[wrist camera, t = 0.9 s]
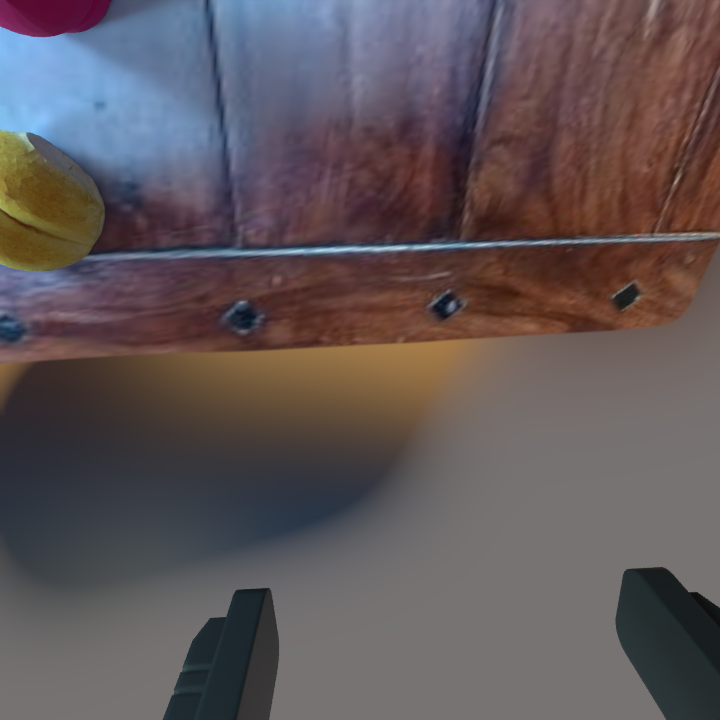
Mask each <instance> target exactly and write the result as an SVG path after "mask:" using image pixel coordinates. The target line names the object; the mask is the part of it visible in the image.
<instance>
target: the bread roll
mask: <svg viewBox="0 0 720 720" xmlns="http://www.w3.org/2000/svg"><path fill="white" fill-rule="evenodd" d="M104 220H105V206H104V202H103V199H102V196H101V194H100V192H99V190H98V188H97V186H96V184H95V182H94V180H93V179H92V178H91V177H90V176H89V175H88V174H87V173H86V172H85V171H84V170H83V169H81V168H80V167H79V166H78V164H77V163H76V162H75V161H73V160H72V159H71V158H70V157H69V156H67V155H66V154H65V153H63V152H62V151H61V150H59V149H58V148H56V147H55V146H54V145H52V144H51V143H50V142H48V141H46V140H45V139H43V138H42V137H40V136H38V135H35V134H33V133H23V132H11V131H4V130H0V264H2V265H5V266H7V267H10V268H14V269H19V270H24V271H51V270H56V269H60V268H63V267H67V266H70V265H73V264H75V263H77V262H78V261H80V260H82V259H83V258H84V257H85V256H87V255H88V253H89V252H90V251H91V249H92V247H93V245H94V244H95V242H96V241H97V239H98V238H99V237H100V235H101V233H102V229H103V225H104Z"/></svg>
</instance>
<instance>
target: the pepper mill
mask: <svg viewBox="0 0 720 720" xmlns="http://www.w3.org/2000/svg"><path fill="white" fill-rule="evenodd" d="M110 2H111V0H0V26H1V27H3V28H6V29H8V30H11V31H13V32H16V33H19V34H23V35H28V36H32V37H50V36H56V35H59V34H63V33H76V32H83V31H86V30H88V29H90V28H92V27H93V26H95V25H96V24H98V23H99V22H100V21H101V20H102V18H103V17H104V16H105V14H106V12H107V10H108V8H109V6H110Z"/></svg>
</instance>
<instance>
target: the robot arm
mask: <svg viewBox="0 0 720 720" xmlns="http://www.w3.org/2000/svg"><path fill="white" fill-rule="evenodd" d="M616 629H617V634H618V637H619V640H620V643H621V645H622V647H623V650H624V651H625V653H626V655H627V656H628V658H629V660H630V661H631V663H632V665H633V666H634V667H635V669H636V671H637V672H638V674H639V676H640V677H641V679H642V681H643V682H644V684H645V685H646V687H647V689H648V690H649V692H650V694H651V695H652V697H653V699H654V700H655V702H656V703H657V705H658V707H659V708H660V710H661V712H662V713H663V715H664V716H665V718H666V720H720V608H719V607H718V606H716V605H715V604H713V603H712V602H710V601H709V600H708V599H706V598H705V597H703V596H702V595H700V594H699V593H698V592H690V593H689V592H688V591H687V590H686V589H685V588H684V587H683V586H682V584H681V583H680V582H679V581H678V580H677V579H676V577H675V576H674V575H673V574H672V573H671V572H670V571H668V570H667V569H666V568H663V567H654V568H637V569H627V570H626V571H625V572H624V574H623V579H622V585H621V591H620V597H619V602H618V608H617V614H616ZM278 659H279V638H278V631H277V624H276V618H275V612H274V606H273V600H272V594H271V590H270V589H269V588H261V589H244V590H236V591H235V593H234V595H233V598H232V601H231V604H230V607H229V610H228V614H227V617H222V618H221V617H220V618H210V619H209V620H208V622H207V623H206V624H205V625H204V627H203V628H202V629H201V631H200V632H199V633H198V634H197V636H196V637H195V638H194V640H193V641H192V644H191V646H190V649H189V652H188V654H187V657H186V660H185V662H184V665H183V671H182V672H181V673H180V675H179V678H178V681H177V684H176V686H175V689H174V695H172V697H171V699H170V702H169V705H168V707H167V710H166V713H165V715H164V718H163V720H269V717H270V710H271V705H272V698H273V693H274V687H275V681H276V675H277V669H278Z"/></svg>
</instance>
